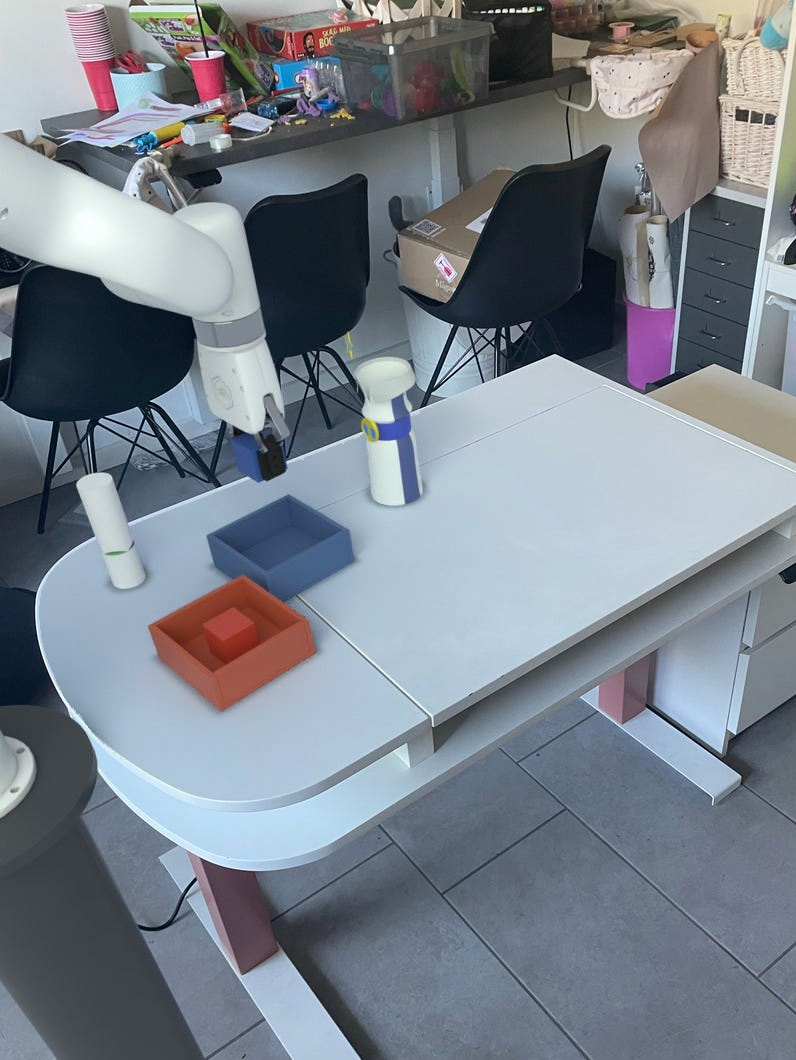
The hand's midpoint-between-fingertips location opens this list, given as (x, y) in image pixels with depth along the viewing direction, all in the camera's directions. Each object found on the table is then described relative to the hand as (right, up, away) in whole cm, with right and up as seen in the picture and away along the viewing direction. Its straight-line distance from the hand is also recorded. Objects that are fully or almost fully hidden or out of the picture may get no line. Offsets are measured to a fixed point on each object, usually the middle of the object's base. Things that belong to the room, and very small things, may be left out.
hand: (262, 467), depth 116 cm
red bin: (-2, -23, -4) cm, 24 cm away
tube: (-20, -13, +9) cm, 26 cm away
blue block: (0, 0, 0) cm, 0 cm away
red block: (-2, -23, -4) cm, 23 cm away
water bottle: (+15, 0, +23) cm, 27 cm away
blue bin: (+1, -11, +10) cm, 15 cm away
